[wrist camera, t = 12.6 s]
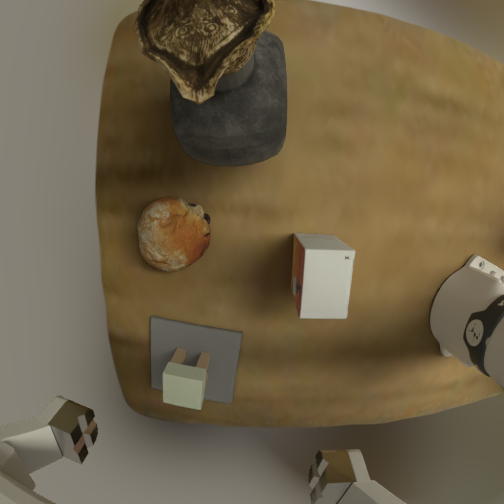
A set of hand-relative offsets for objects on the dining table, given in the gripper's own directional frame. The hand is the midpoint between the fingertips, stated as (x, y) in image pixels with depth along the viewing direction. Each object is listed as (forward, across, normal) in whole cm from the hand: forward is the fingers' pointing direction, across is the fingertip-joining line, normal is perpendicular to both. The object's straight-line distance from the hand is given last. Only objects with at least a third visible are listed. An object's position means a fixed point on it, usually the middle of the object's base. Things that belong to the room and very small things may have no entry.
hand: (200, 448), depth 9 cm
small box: (+33, -9, 0) cm, 35 cm away
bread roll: (+34, +10, -2) cm, 35 cm away
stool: (+32, +6, +19) cm, 38 cm away
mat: (+33, +6, +19) cm, 39 cm away
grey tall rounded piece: (+33, +4, -20) cm, 39 cm away
